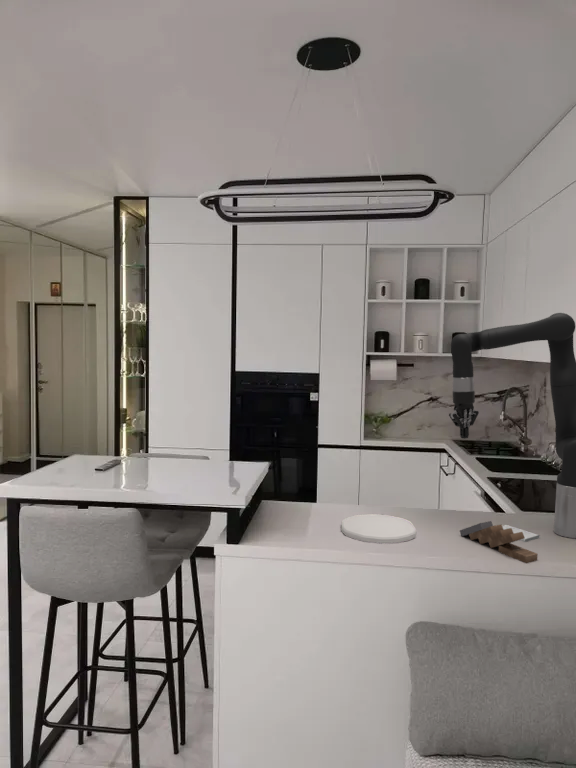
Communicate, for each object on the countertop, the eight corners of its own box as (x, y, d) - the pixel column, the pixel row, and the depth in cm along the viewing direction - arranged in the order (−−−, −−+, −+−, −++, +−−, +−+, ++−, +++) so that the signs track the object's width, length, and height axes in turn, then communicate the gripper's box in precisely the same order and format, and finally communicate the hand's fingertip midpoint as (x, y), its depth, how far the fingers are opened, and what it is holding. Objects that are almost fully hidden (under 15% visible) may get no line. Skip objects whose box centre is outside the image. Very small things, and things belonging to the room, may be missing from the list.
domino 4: (488, 541, 179) (510, 534, 170) (499, 539, 181) (522, 531, 173) (490, 548, 178) (513, 541, 170) (502, 545, 180) (524, 538, 172)
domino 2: (468, 534, 186) (490, 526, 178) (479, 531, 188) (501, 524, 180) (471, 540, 185) (492, 532, 177) (481, 538, 187) (503, 530, 179)
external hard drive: (524, 543, 184) (492, 532, 195) (539, 539, 189) (507, 528, 199) (524, 539, 184) (492, 527, 195) (539, 534, 189) (507, 524, 199)
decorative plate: (409, 509, 204) (422, 533, 179) (408, 521, 204) (422, 546, 180) (339, 507, 205) (343, 531, 180) (339, 518, 205) (343, 543, 181)
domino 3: (477, 537, 182) (500, 530, 174) (488, 535, 185) (511, 527, 177) (480, 544, 181) (502, 536, 174) (491, 541, 184) (513, 534, 176)
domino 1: (459, 530, 189) (480, 523, 181) (470, 528, 191) (491, 520, 184) (461, 536, 188) (482, 529, 180) (472, 534, 191) (493, 527, 183)
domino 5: (498, 545, 175) (526, 556, 166) (509, 542, 178) (537, 553, 169) (498, 551, 175) (526, 563, 167) (509, 549, 178) (537, 560, 169)
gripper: (458, 391, 195) (459, 441, 196) (484, 389, 202) (485, 437, 203) (442, 390, 202) (443, 439, 203) (468, 388, 208) (469, 434, 209)
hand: (464, 438), depth 203 cm, fingers closed
